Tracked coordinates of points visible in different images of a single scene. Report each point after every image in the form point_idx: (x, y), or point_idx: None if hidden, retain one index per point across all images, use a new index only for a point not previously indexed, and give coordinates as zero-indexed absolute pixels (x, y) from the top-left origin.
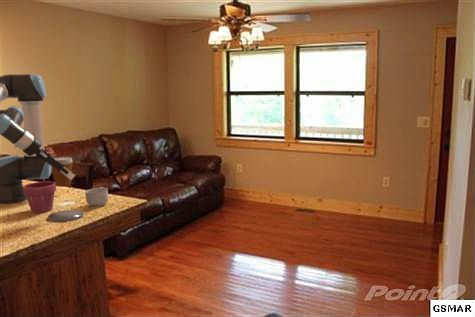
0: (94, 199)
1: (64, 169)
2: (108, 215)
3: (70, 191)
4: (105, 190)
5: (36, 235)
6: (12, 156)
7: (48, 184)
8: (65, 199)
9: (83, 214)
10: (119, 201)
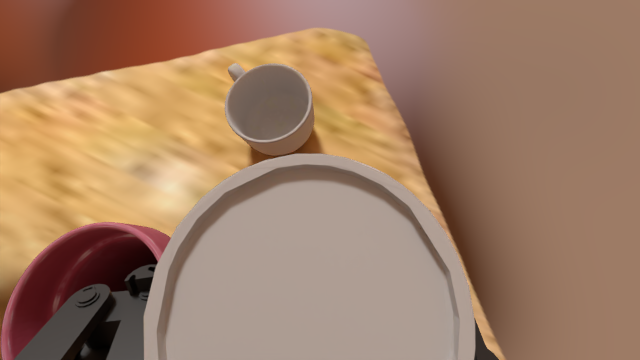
0: (303, 138)
1: (477, 337)
2: (418, 162)
3: (48, 111)
4: (306, 82)
5: None
6: None
7: (81, 240)
8: (123, 167)
9: None
10: (295, 68)
